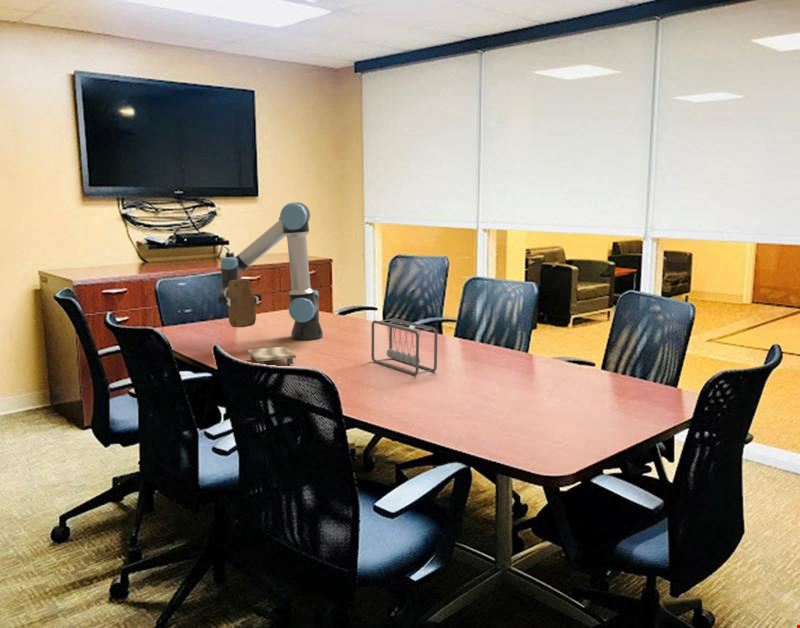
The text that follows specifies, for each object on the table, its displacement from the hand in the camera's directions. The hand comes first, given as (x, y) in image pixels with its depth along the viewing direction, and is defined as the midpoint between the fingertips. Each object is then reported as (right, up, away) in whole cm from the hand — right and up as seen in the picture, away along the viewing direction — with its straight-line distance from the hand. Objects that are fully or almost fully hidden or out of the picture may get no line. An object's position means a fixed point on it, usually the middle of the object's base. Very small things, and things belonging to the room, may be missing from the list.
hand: (243, 301), depth 287 cm
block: (-2, -10, +6) cm, 12 cm away
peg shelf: (+12, -25, -4) cm, 28 cm away
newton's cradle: (+67, -27, -9) cm, 72 cm away
